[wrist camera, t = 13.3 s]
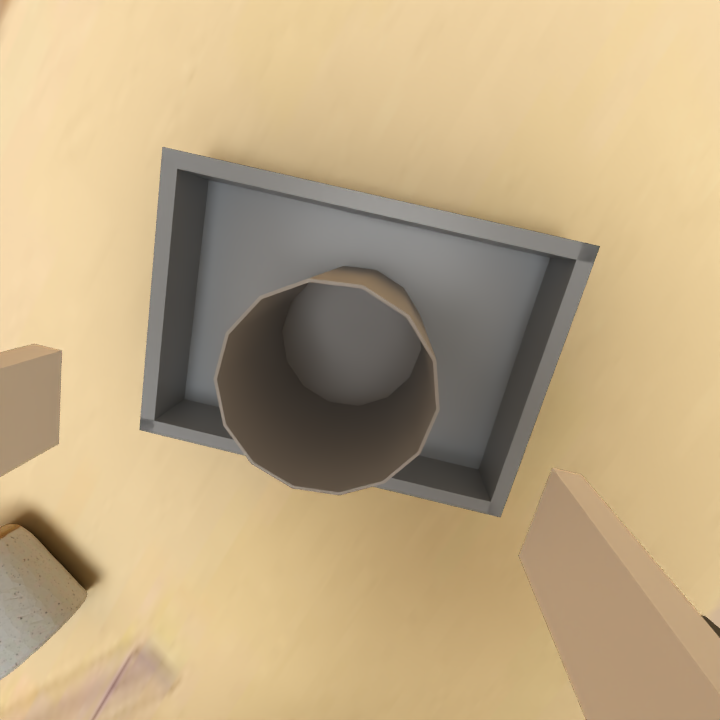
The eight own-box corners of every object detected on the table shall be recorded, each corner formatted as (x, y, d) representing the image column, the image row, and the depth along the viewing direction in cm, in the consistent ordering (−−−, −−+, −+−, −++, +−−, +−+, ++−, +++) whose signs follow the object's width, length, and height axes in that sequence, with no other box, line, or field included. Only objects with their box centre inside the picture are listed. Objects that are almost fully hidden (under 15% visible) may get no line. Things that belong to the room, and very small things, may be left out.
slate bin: (484, 475, 28) (500, 517, 23) (178, 401, 28) (139, 430, 24) (562, 246, 24) (599, 246, 19) (204, 164, 24) (162, 146, 20)
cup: (451, 318, 24) (487, 365, 15) (374, 427, 26) (362, 530, 17) (327, 237, 24) (280, 231, 14) (259, 355, 26) (178, 420, 16)
